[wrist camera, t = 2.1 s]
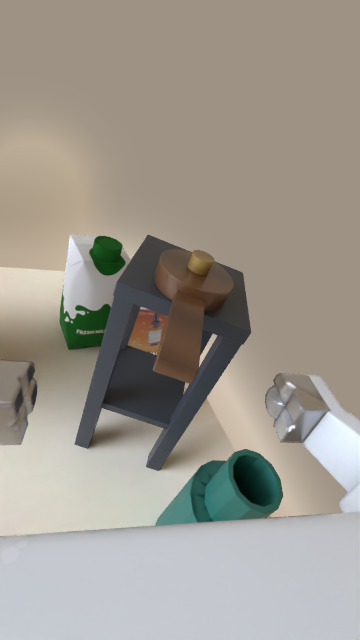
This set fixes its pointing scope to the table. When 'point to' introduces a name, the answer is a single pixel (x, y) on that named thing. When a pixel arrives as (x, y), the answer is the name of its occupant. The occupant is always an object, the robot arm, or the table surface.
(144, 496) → the table surface
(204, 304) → the lid
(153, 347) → the small box
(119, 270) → the milk carton
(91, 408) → the stand
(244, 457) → the bottle
